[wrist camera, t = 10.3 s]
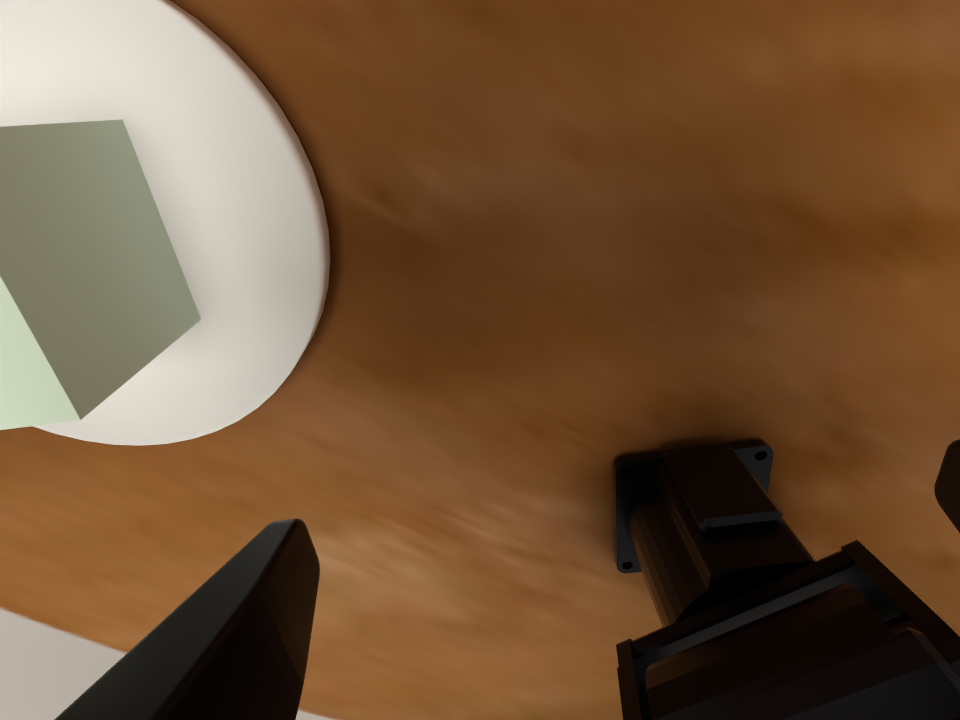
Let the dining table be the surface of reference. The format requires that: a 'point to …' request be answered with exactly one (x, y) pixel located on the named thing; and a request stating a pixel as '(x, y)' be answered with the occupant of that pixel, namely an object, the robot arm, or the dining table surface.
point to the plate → (185, 199)
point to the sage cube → (80, 271)
